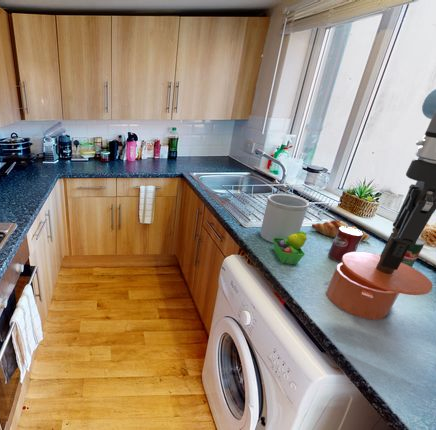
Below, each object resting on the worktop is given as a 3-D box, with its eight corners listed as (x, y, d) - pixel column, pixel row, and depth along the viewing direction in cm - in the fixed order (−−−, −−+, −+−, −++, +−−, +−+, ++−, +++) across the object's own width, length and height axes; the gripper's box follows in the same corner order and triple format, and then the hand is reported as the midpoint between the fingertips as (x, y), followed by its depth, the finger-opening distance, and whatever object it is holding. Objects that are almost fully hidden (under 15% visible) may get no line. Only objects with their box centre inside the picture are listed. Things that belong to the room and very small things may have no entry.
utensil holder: (252, 236, 123) (261, 198, 116) (266, 226, 132) (276, 190, 125) (289, 250, 113) (302, 210, 106) (301, 238, 122) (314, 200, 115)
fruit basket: (269, 248, 114) (276, 223, 110) (293, 250, 113) (301, 225, 108) (278, 264, 104) (287, 237, 99) (305, 267, 103) (315, 240, 98)
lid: (423, 271, 67) (448, 229, 62) (436, 308, 56) (468, 261, 51) (341, 248, 76) (358, 210, 71) (338, 277, 64) (357, 233, 60)
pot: (384, 294, 90) (397, 269, 86) (389, 334, 76) (405, 306, 72) (328, 276, 98) (338, 253, 94) (324, 309, 84) (335, 283, 80)
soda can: (332, 262, 106) (344, 234, 101) (324, 252, 112) (334, 225, 107) (354, 265, 104) (367, 236, 99) (345, 255, 111) (357, 227, 106)
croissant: (363, 245, 125) (367, 227, 125) (374, 245, 115) (378, 226, 115) (307, 233, 132) (311, 216, 132) (313, 232, 123) (317, 214, 123)
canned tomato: (389, 256, 110) (402, 231, 106) (415, 268, 104) (430, 241, 99) (377, 261, 107) (390, 235, 103) (403, 272, 101) (417, 246, 96)
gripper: (408, 151, 62) (366, 243, 72) (419, 165, 51) (367, 273, 61) (458, 156, 58) (406, 254, 68) (483, 173, 47) (415, 288, 57)
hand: (388, 263), depth 64 cm, fingers closed on lid, 3 cm apart
